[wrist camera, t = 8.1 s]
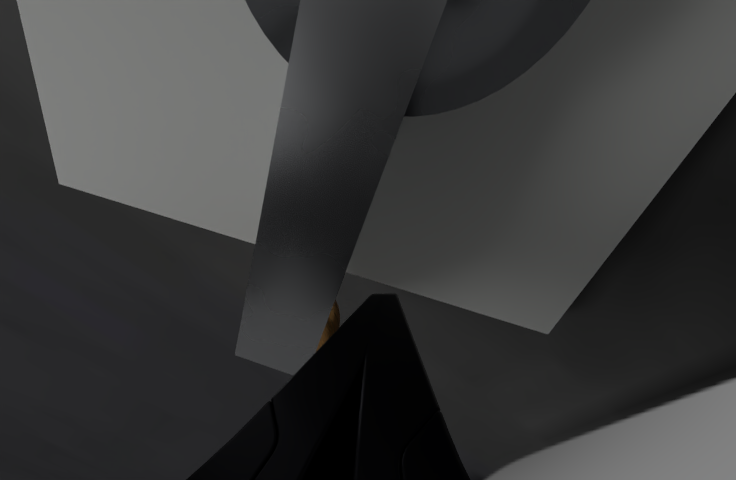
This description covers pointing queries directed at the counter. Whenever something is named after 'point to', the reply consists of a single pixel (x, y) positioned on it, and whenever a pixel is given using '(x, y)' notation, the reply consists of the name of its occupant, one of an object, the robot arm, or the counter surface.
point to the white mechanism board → (412, 144)
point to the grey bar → (361, 134)
